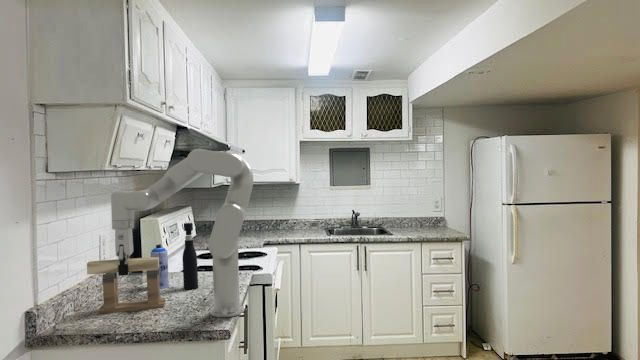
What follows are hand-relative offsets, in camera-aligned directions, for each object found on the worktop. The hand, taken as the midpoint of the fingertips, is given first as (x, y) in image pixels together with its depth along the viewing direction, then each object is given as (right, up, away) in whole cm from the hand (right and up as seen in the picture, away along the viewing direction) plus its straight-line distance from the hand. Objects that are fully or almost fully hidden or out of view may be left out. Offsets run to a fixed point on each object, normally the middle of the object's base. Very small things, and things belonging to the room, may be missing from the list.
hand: (124, 273), depth 166 cm
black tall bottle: (+13, -16, +41) cm, 46 cm away
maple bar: (0, +1, 0) cm, 1 cm away
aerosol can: (-3, -16, +45) cm, 48 cm away
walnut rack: (-3, -17, +14) cm, 22 cm away
